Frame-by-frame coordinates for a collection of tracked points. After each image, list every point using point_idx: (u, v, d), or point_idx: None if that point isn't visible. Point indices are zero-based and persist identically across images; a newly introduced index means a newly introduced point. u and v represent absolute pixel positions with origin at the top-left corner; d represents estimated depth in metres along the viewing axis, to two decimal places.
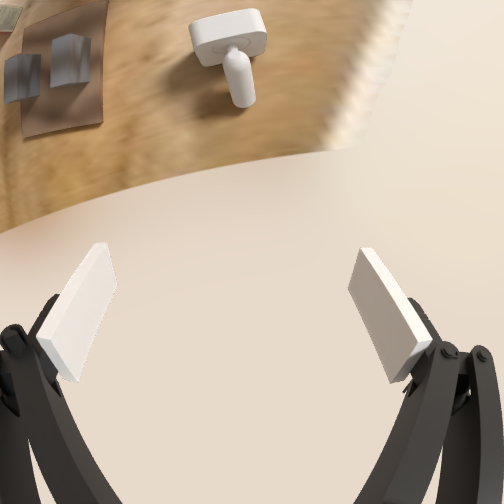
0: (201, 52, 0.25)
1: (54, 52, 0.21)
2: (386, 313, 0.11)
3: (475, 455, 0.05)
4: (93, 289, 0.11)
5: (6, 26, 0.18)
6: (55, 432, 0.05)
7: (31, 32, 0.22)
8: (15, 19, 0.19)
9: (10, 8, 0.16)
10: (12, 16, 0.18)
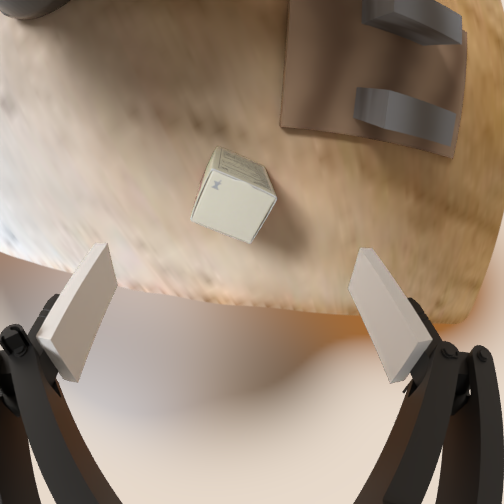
0: None
1: (417, 15, 0.12)
2: (386, 313, 0.11)
3: (475, 454, 0.05)
4: (93, 289, 0.11)
5: (258, 168, 0.23)
6: (55, 432, 0.05)
7: (300, 105, 0.22)
8: (241, 157, 0.24)
9: (221, 155, 0.21)
10: (236, 158, 0.23)
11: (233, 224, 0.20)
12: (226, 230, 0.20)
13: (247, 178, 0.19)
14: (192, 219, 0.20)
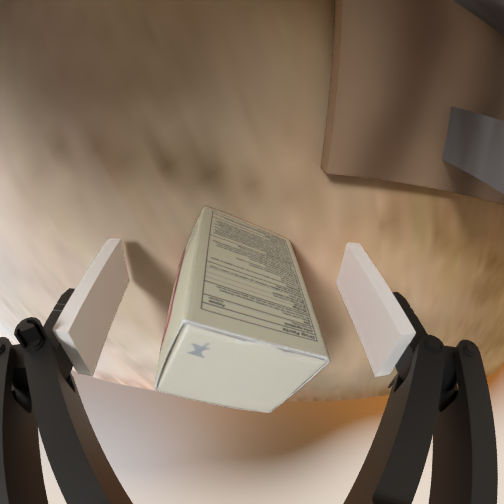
0: None
1: None
2: (371, 307, 0.11)
3: (466, 451, 0.05)
4: (107, 283, 0.12)
5: (282, 257, 0.13)
6: (68, 428, 0.05)
7: (364, 133, 0.11)
8: (250, 228, 0.14)
9: (210, 242, 0.11)
10: (240, 237, 0.12)
11: (238, 398, 0.09)
12: (224, 403, 0.10)
13: (268, 320, 0.09)
14: (158, 389, 0.09)
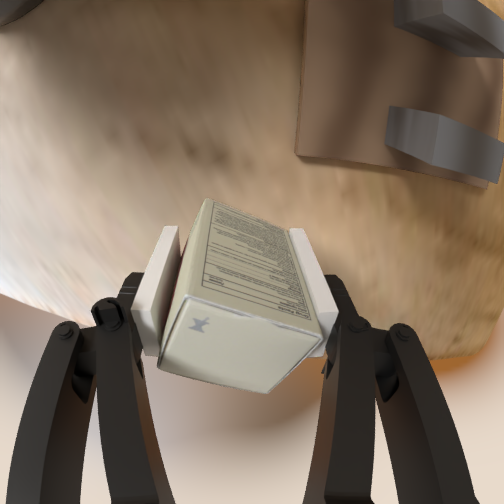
0: None
1: (467, 20, 0.08)
2: None
3: (422, 444, 0.06)
4: (171, 267, 0.13)
5: (279, 245, 0.13)
6: (132, 417, 0.06)
7: (322, 128, 0.17)
8: (249, 218, 0.14)
9: (211, 229, 0.12)
10: (240, 226, 0.13)
11: (237, 376, 0.10)
12: (223, 382, 0.10)
13: (264, 298, 0.09)
14: (160, 368, 0.10)
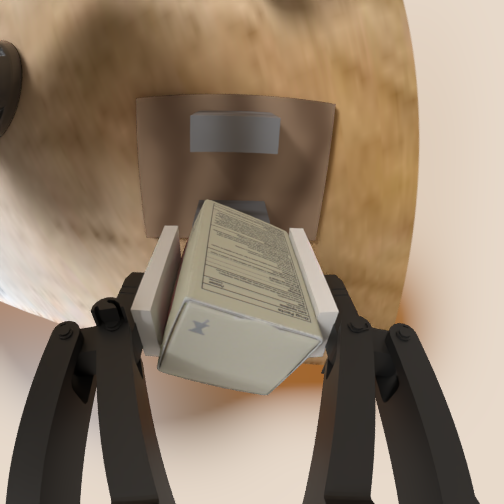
0: None
1: (216, 145, 0.21)
2: None
3: (422, 444, 0.06)
4: (171, 267, 0.13)
5: (279, 247, 0.13)
6: (132, 417, 0.06)
7: (157, 221, 0.31)
8: (249, 220, 0.14)
9: (211, 231, 0.12)
10: (240, 228, 0.13)
11: (236, 378, 0.10)
12: (223, 383, 0.10)
13: (264, 301, 0.09)
14: (161, 369, 0.10)
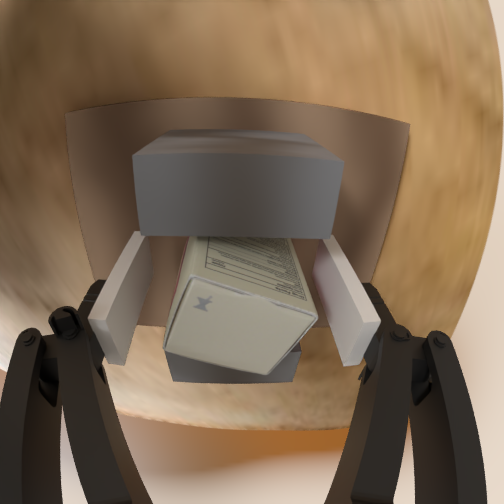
0: None
1: (194, 223, 0.10)
2: (339, 296, 0.12)
3: (447, 447, 0.05)
4: (137, 274, 0.13)
5: None
6: (97, 421, 0.06)
7: None
8: None
9: None
10: None
11: (238, 356, 0.11)
12: (225, 362, 0.11)
13: (262, 280, 0.10)
14: (166, 349, 0.11)
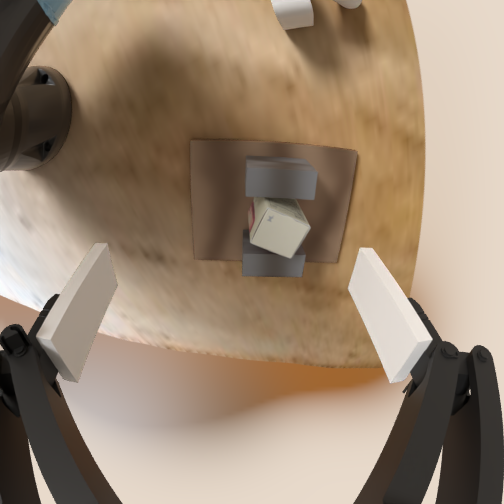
0: None
1: (266, 192, 0.28)
2: (386, 313, 0.11)
3: (475, 454, 0.05)
4: (93, 289, 0.11)
5: (293, 202, 0.32)
6: (55, 432, 0.05)
7: (204, 246, 0.38)
8: None
9: None
10: None
11: (280, 245, 0.29)
12: (274, 249, 0.29)
13: (290, 213, 0.28)
14: (251, 242, 0.29)
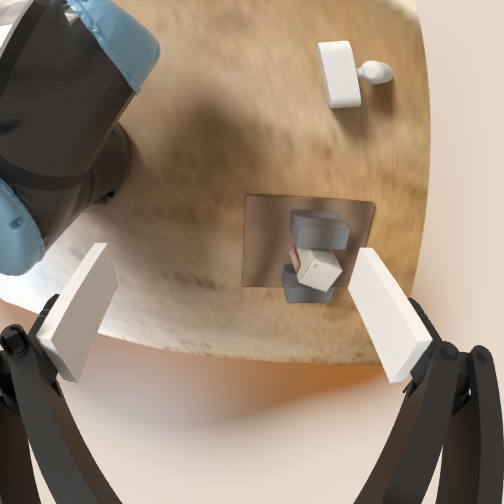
0: None
1: (312, 245, 0.37)
2: (386, 313, 0.11)
3: (474, 455, 0.05)
4: (93, 289, 0.11)
5: None
6: (55, 432, 0.05)
7: (252, 276, 0.47)
8: None
9: None
10: None
11: (320, 283, 0.38)
12: (315, 286, 0.39)
13: (328, 260, 0.38)
14: (300, 281, 0.38)
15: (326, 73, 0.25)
